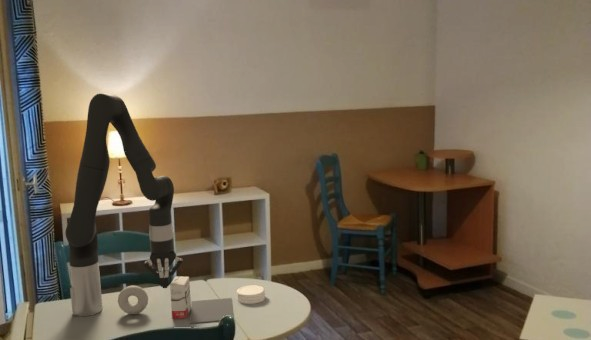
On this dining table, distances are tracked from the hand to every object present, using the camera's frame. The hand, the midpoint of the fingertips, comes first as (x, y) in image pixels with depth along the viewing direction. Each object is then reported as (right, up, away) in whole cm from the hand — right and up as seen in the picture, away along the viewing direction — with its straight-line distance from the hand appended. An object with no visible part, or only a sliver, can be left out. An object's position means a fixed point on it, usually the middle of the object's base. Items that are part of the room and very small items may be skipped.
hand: (165, 287), depth 188 cm
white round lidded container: (+28, -7, +14) cm, 32 cm away
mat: (+15, -9, +4) cm, 18 cm away
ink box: (+5, -10, +2) cm, 11 cm away
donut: (-11, -10, +3) cm, 15 cm away
